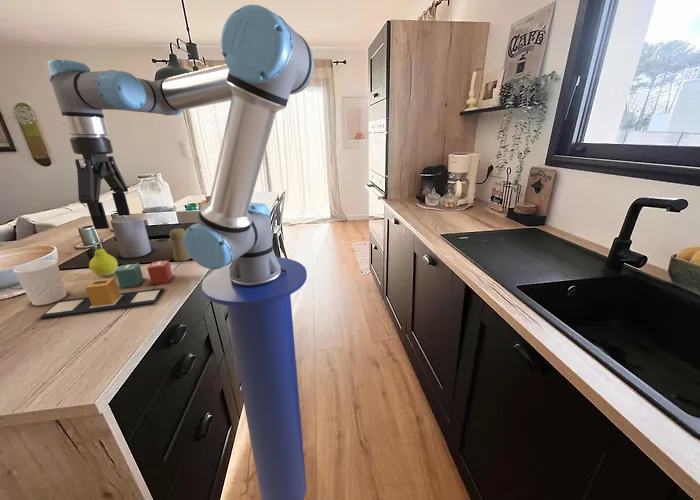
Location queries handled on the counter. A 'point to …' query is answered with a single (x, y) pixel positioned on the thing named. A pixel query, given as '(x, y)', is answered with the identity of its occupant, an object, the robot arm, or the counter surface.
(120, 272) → the teal slotted block
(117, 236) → the pillar candle
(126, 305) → the word mat
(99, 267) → the fruit
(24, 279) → the white cup
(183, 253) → the cork
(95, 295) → the slotted yellow cube
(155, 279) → the red block
